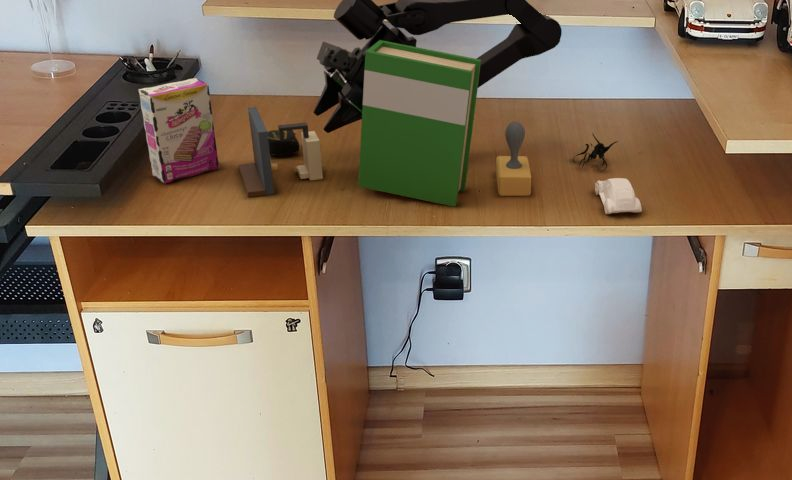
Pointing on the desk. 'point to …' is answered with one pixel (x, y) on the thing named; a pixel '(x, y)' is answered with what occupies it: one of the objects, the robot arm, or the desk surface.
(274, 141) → the tape measure
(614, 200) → the white toy vehicle
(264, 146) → the door
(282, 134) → the hanger
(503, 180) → the rubber stamp
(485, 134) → the desk surface
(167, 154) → the candy bar box
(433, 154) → the hardback book
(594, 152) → the creature
